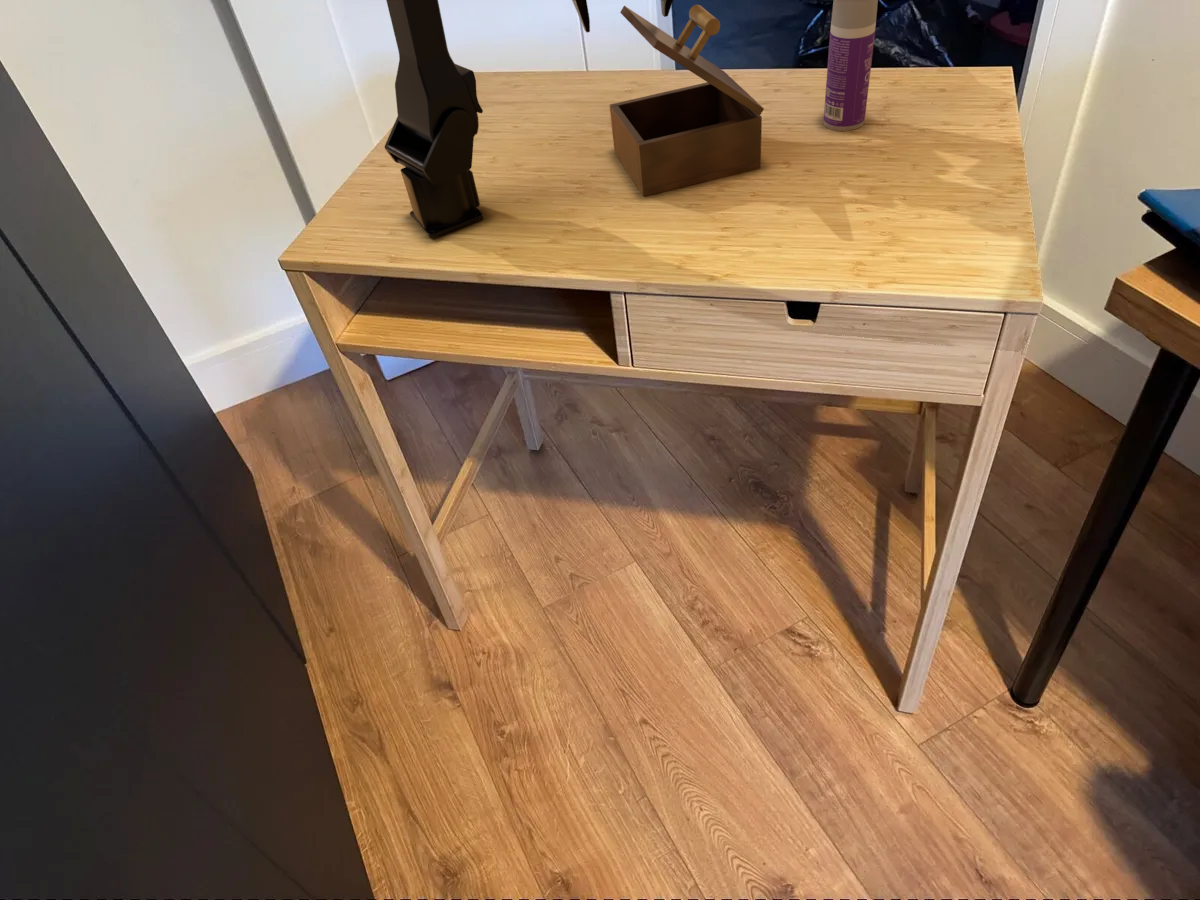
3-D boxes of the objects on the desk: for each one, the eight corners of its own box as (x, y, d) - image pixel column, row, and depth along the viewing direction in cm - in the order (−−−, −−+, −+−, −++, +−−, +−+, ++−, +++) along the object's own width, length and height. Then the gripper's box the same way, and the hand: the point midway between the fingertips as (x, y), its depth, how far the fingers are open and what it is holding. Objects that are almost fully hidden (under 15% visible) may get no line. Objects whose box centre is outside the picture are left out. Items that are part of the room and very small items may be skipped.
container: (868, 128, 94) (885, -15, 83) (826, 133, 94) (838, -10, 84) (860, 111, 97) (875, -29, 87) (819, 115, 98) (830, -24, 87)
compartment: (643, 196, 89) (639, 145, 85) (614, 153, 97) (609, 104, 93) (760, 168, 90) (762, 116, 86) (722, 127, 98) (722, 78, 94)
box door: (653, 47, 79) (682, -4, 76) (619, 12, 87) (645, -35, 84) (759, 115, 86) (789, 71, 84) (720, 77, 94) (746, 36, 92)
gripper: (676, -169, 89) (681, -11, 100) (509, -140, 87) (532, 18, 98) (712, -155, 81) (713, 15, 92) (529, -122, 79) (552, 48, 90)
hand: (626, 23), depth 93 cm, fingers open, 9 cm apart
